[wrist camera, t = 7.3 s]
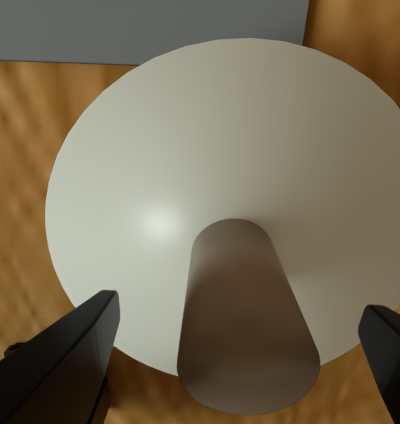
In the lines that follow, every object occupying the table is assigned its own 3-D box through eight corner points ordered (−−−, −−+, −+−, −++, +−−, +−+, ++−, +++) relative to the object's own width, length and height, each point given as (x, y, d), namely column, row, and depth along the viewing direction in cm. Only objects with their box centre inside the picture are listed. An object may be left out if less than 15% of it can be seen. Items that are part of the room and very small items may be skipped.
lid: (82, 359, 13) (8, 509, 8) (21, 38, 8) (-262, -55, 3) (362, 375, 13) (452, 540, 8) (483, 49, 8) (936, -35, 3)
